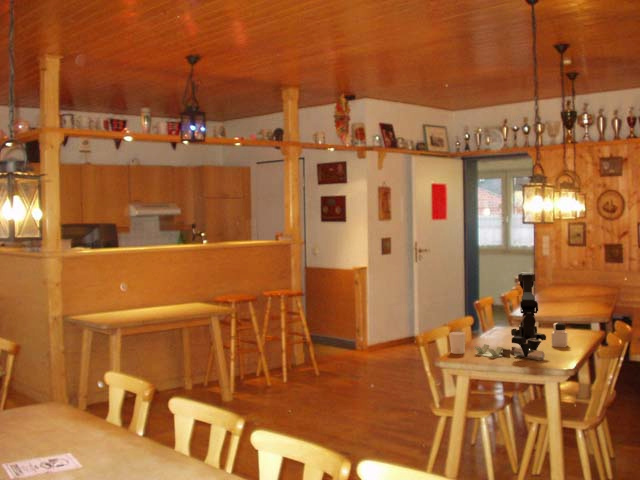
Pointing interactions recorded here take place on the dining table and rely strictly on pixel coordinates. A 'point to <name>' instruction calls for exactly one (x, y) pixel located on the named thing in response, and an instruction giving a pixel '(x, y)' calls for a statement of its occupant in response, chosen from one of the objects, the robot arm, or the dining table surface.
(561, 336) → the medicine bottle
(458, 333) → the white cup
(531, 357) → the brown rounded bar
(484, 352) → the cradle
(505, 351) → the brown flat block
